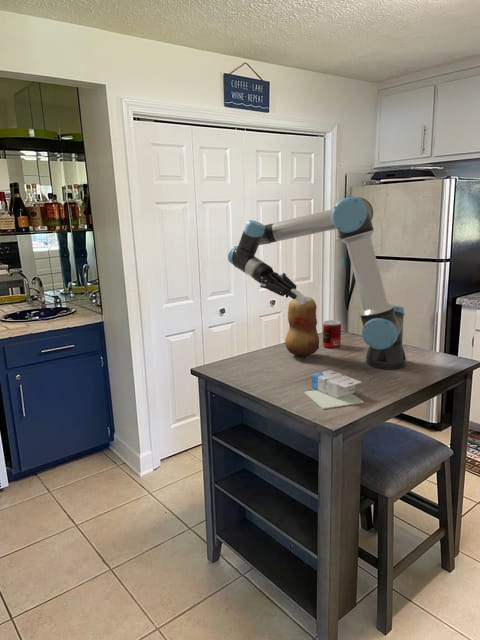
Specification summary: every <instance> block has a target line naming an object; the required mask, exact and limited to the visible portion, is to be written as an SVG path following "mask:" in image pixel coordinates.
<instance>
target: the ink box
mask: <svg viewBox="0 0 480 640" xmlns="http://www.w3.org/2000/svg"><path fill="white" fill-rule="evenodd" d="M311 382H312V383H311V385H312V386H311V387H312V389H314V390H319V391H321V392H324V393H326V394H328V395H331V396H333V397H335V398H340V397H343V396H346V395H349V394H354V393H356V385H358V384H361V383H362V381H360V380H358V379H355V378H352V377H350V376H348V375H345V374H342V373H339V372H336V371H334V370H331V369H328V370H325V371H320V372H317V373H314V374H312V375H311Z"/></svg>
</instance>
